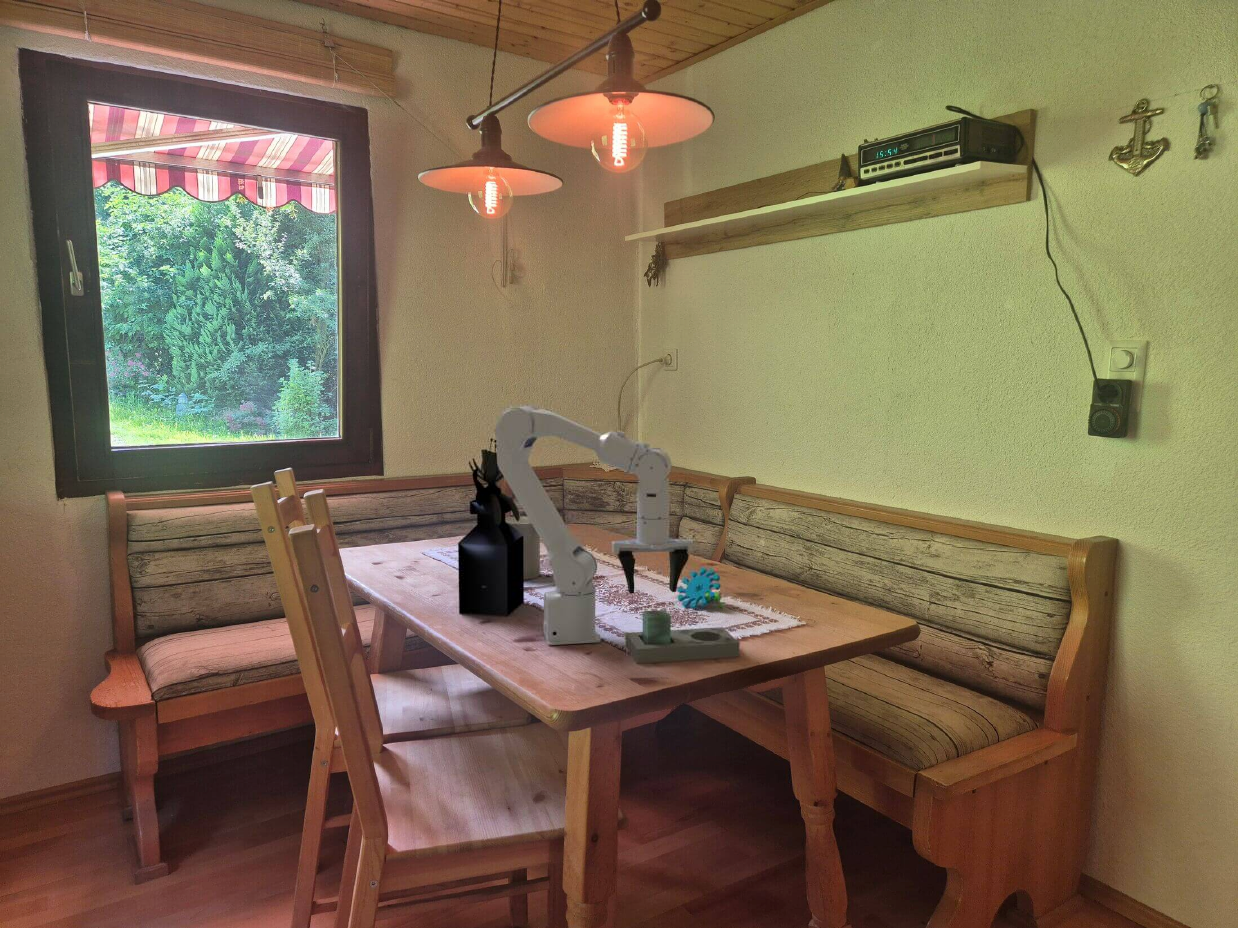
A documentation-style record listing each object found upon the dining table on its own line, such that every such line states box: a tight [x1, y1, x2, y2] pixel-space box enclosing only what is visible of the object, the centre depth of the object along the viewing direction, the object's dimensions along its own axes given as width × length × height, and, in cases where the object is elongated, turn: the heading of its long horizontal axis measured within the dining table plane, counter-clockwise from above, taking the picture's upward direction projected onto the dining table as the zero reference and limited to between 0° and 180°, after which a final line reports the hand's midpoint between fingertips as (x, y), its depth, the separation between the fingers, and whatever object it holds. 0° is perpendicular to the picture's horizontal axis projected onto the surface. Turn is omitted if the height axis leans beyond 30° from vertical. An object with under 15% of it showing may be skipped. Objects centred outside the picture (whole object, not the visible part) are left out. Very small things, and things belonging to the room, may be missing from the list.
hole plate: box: [625, 626, 740, 665], centre depth 144 cm, size 18×9×2 cm, turn 102°
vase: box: [457, 438, 525, 618], centre depth 168 cm, size 14×12×35 cm
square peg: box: [642, 609, 672, 645], centre depth 143 cm, size 4×4×7 cm
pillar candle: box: [505, 513, 541, 581], centre depth 198 cm, size 10×10×15 cm
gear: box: [676, 567, 724, 610], centre depth 174 cm, size 11×6×10 cm
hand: (652, 591), depth 149 cm, fingers open, 7 cm apart
